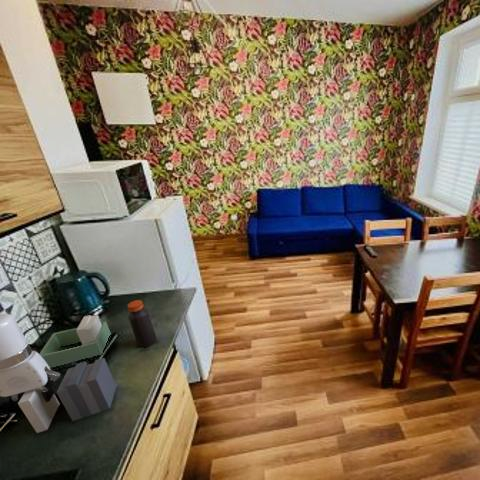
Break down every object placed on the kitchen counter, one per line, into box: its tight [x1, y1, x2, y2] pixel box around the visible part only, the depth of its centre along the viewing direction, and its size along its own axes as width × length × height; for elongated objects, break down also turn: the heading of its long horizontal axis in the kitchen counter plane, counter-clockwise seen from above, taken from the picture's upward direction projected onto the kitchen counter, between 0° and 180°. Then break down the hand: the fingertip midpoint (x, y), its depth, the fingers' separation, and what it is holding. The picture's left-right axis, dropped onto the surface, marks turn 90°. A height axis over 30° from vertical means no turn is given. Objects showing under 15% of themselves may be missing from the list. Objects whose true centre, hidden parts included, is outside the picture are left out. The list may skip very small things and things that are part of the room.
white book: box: [17, 388, 60, 434], centre depth 81 cm, size 2×9×13 cm, turn 24°
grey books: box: [56, 357, 117, 422], centre depth 85 cm, size 10×9×14 cm
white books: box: [76, 314, 102, 345], centre depth 107 cm, size 4×9×13 cm, turn 24°
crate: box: [38, 321, 112, 368], centre depth 106 cm, size 18×14×8 cm
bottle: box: [127, 299, 158, 349], centre depth 109 cm, size 7×7×20 cm
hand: (38, 400), depth 80 cm, fingers open, 4 cm apart
